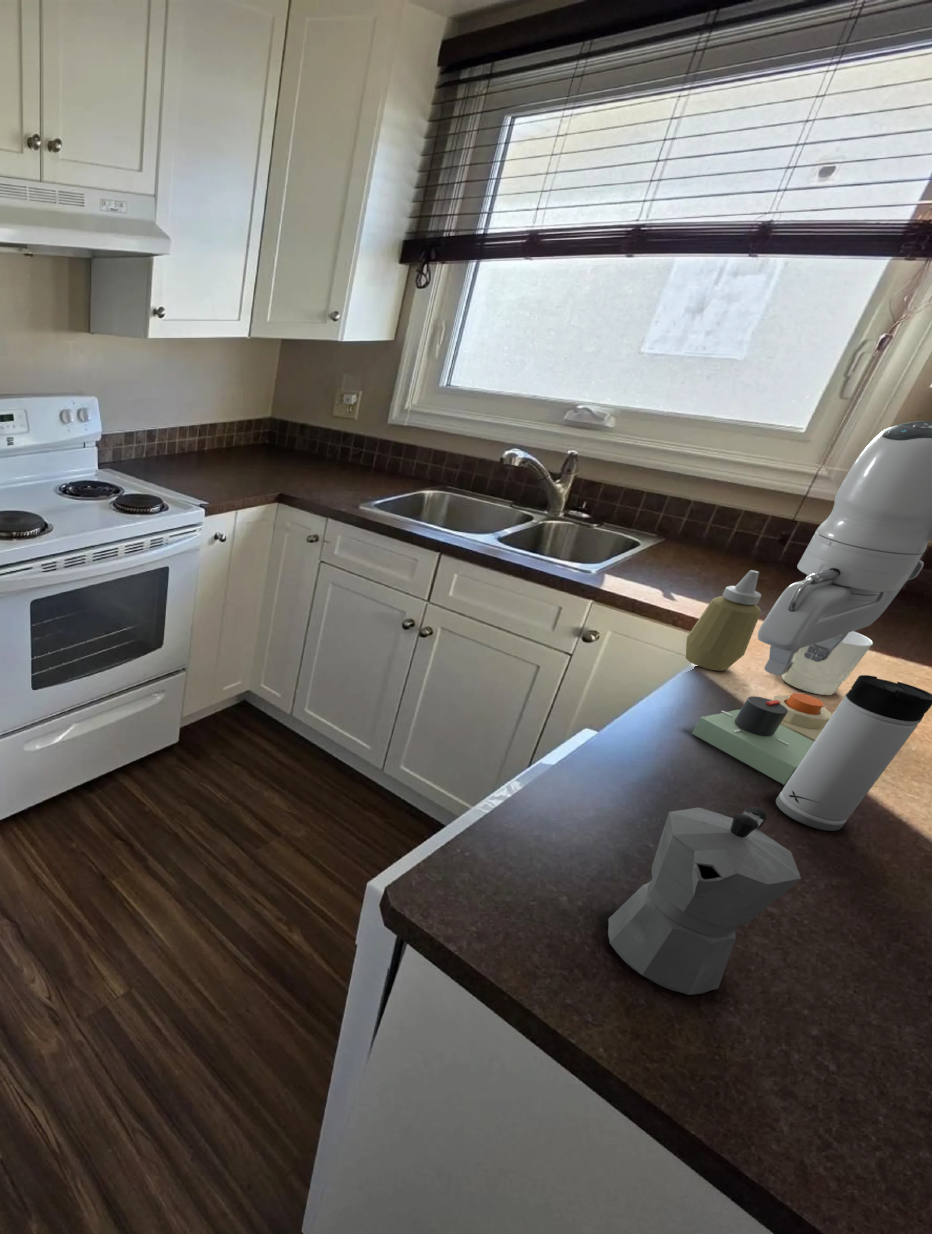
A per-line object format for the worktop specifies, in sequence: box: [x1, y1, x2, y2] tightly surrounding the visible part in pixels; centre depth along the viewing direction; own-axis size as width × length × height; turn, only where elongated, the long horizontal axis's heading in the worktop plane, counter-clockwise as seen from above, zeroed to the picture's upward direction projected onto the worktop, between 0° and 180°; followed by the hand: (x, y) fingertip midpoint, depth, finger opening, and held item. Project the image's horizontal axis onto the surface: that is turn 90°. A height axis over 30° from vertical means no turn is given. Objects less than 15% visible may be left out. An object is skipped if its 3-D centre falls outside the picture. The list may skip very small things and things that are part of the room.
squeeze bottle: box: [685, 569, 762, 672], centre depth 117 cm, size 8×8×18 cm
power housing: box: [769, 694, 833, 742], centre depth 102 cm, size 11×9×4 cm
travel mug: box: [775, 674, 932, 832], centre depth 82 cm, size 6×7×20 cm
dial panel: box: [691, 708, 814, 786], centre depth 97 cm, size 12×10×3 cm
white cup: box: [781, 631, 874, 696], centre depth 114 cm, size 8×8×10 cm
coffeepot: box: [607, 806, 802, 996], centre depth 64 cm, size 15×9×18 cm, turn 125°
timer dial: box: [735, 695, 788, 736], centre depth 97 cm, size 4×4×4 cm
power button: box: [786, 692, 825, 715], centre depth 102 cm, size 4×4×2 cm
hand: (794, 665), depth 86 cm, fingers open, 8 cm apart
